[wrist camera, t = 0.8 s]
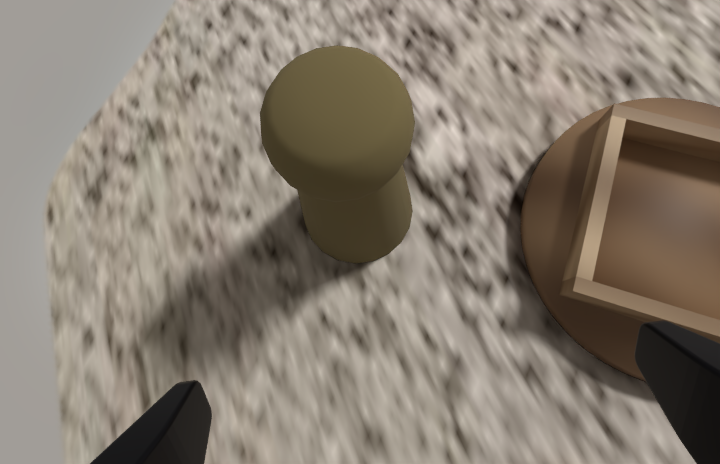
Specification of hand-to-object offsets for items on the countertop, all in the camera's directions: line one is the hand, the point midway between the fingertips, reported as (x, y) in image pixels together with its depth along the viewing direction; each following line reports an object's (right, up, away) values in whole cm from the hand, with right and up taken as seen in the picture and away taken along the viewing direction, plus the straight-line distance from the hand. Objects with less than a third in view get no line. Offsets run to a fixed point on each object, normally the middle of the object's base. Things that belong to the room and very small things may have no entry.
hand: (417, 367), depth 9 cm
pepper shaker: (-1, +4, +15) cm, 15 cm away
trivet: (+15, +3, +13) cm, 20 cm away
